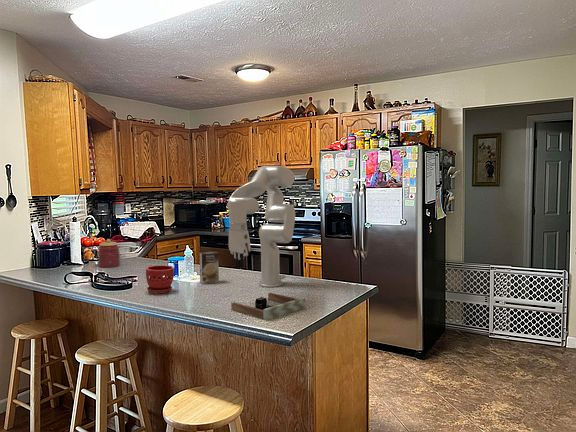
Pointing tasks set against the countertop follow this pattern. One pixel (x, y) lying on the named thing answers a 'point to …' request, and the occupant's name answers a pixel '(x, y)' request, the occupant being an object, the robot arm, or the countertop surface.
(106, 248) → the canister
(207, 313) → the countertop surface
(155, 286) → the plant pot
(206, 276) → the coffee box
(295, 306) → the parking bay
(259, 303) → the black piece
